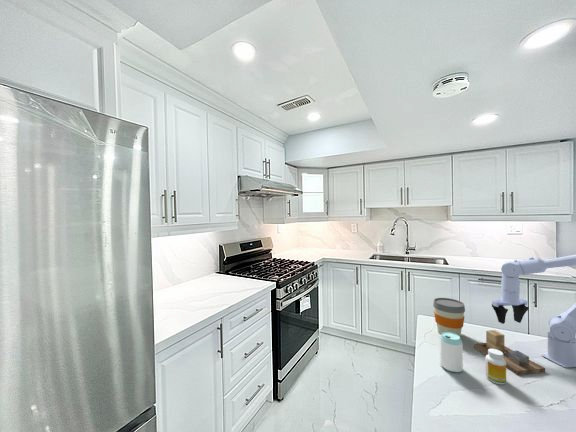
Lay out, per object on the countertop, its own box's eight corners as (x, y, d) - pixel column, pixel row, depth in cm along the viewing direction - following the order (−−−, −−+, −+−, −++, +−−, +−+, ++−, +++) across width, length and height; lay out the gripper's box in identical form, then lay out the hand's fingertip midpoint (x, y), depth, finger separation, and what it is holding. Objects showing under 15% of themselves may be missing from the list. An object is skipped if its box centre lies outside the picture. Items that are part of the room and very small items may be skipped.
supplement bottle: (510, 386, 81) (510, 356, 81) (491, 384, 82) (491, 355, 82) (499, 375, 86) (499, 348, 86) (482, 373, 87) (482, 346, 87)
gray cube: (517, 362, 93) (517, 350, 93) (528, 368, 89) (528, 356, 89) (508, 363, 93) (508, 351, 93) (519, 369, 89) (519, 357, 89)
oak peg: (495, 349, 102) (494, 330, 102) (504, 354, 98) (504, 334, 98) (486, 349, 102) (486, 330, 102) (495, 355, 98) (495, 335, 98)
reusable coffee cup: (468, 333, 115) (467, 301, 115) (461, 343, 107) (461, 309, 107) (437, 325, 124) (437, 295, 124) (429, 333, 116) (429, 302, 116)
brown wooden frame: (497, 345, 105) (497, 341, 105) (545, 372, 87) (545, 368, 87) (473, 347, 104) (473, 343, 104) (517, 375, 86) (517, 370, 86)
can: (463, 376, 86) (462, 342, 86) (439, 369, 90) (439, 337, 90) (462, 365, 92) (461, 333, 92) (440, 359, 96) (439, 329, 96)
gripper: (515, 286, 108) (515, 317, 108) (485, 288, 106) (485, 318, 107) (533, 292, 101) (532, 324, 101) (501, 293, 99) (500, 326, 100)
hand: (509, 322), depth 104 cm, fingers open, 7 cm apart
